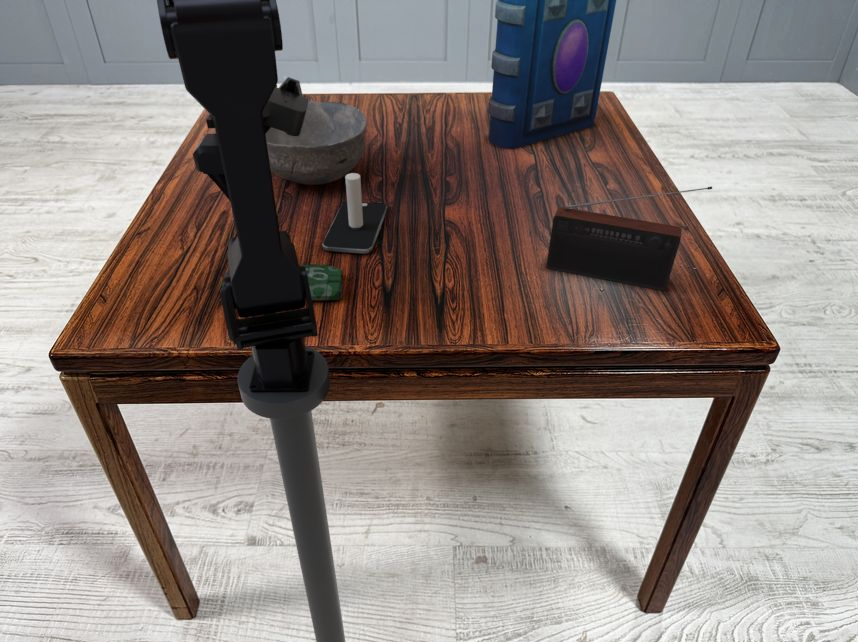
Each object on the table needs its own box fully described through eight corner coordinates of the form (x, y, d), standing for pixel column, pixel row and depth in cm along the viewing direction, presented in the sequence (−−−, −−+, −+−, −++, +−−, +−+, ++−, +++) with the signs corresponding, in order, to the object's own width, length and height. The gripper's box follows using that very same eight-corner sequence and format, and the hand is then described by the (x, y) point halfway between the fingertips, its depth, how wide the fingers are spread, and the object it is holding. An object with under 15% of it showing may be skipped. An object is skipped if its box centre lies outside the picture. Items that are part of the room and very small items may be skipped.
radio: (545, 269, 94) (560, 171, 84) (549, 259, 96) (564, 162, 86) (680, 296, 89) (712, 194, 79) (681, 284, 91) (713, 184, 81)
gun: (345, 254, 94) (339, 294, 86) (346, 263, 95) (340, 303, 87) (232, 255, 94) (216, 295, 86) (234, 263, 95) (219, 304, 87)
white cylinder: (363, 233, 101) (359, 179, 95) (348, 233, 101) (344, 179, 95) (363, 226, 102) (360, 172, 97) (349, 226, 102) (345, 172, 97)
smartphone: (388, 203, 107) (371, 250, 96) (388, 207, 108) (371, 254, 96) (342, 200, 108) (320, 246, 97) (343, 204, 109) (320, 250, 97)
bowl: (281, 214, 106) (273, 155, 100) (236, 168, 119) (226, 113, 113) (391, 183, 115) (389, 127, 108) (337, 143, 128) (333, 91, 121)
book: (507, 154, 124) (525, -26, 105) (479, 139, 130) (491, -36, 110) (598, 128, 134) (630, -41, 115) (569, 115, 140) (594, -49, 120)
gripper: (287, 95, 66) (304, 230, 76) (308, 42, 81) (320, 162, 91) (177, 95, 66) (208, 231, 76) (217, 42, 80) (239, 163, 90)
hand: (249, 194), depth 83 cm, fingers open, 9 cm apart
